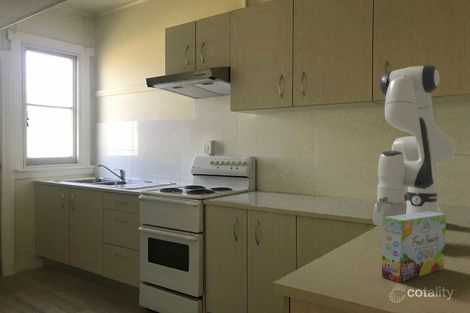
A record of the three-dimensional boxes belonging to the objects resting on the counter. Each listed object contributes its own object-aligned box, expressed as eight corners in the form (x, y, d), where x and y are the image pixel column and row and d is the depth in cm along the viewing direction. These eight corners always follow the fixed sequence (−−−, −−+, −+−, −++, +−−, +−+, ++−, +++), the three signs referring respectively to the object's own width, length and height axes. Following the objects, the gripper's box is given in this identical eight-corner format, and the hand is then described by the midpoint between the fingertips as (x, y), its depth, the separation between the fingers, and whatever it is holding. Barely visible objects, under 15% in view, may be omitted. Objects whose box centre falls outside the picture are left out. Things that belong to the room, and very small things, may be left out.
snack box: (402, 284, 89) (403, 219, 89) (380, 277, 93) (381, 216, 93) (445, 269, 101) (447, 212, 101) (424, 264, 106) (426, 210, 106)
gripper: (387, 199, 125) (386, 241, 125) (410, 195, 140) (409, 233, 140) (368, 197, 130) (367, 238, 130) (392, 194, 144) (392, 230, 144)
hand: (389, 235), depth 135 cm, fingers closed, pressing on stone block
